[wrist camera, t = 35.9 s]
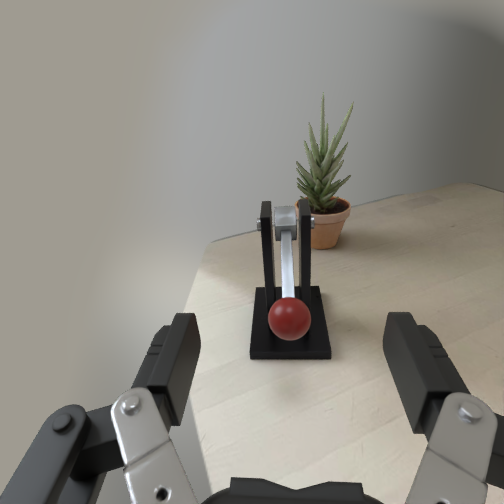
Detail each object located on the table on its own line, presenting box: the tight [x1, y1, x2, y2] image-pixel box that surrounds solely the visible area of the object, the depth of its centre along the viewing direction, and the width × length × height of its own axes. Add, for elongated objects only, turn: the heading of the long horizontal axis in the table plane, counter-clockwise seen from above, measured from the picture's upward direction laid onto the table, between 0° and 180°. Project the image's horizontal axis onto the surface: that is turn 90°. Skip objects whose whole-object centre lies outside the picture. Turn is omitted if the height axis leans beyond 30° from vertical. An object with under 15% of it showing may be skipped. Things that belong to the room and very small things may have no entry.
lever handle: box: [268, 206, 311, 340], centre depth 30 cm, size 14×4×4 cm, turn 176°
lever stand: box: [250, 199, 331, 359], centre depth 36 cm, size 12×9×16 cm
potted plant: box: [295, 93, 353, 249], centre depth 52 cm, size 10×10×25 cm
